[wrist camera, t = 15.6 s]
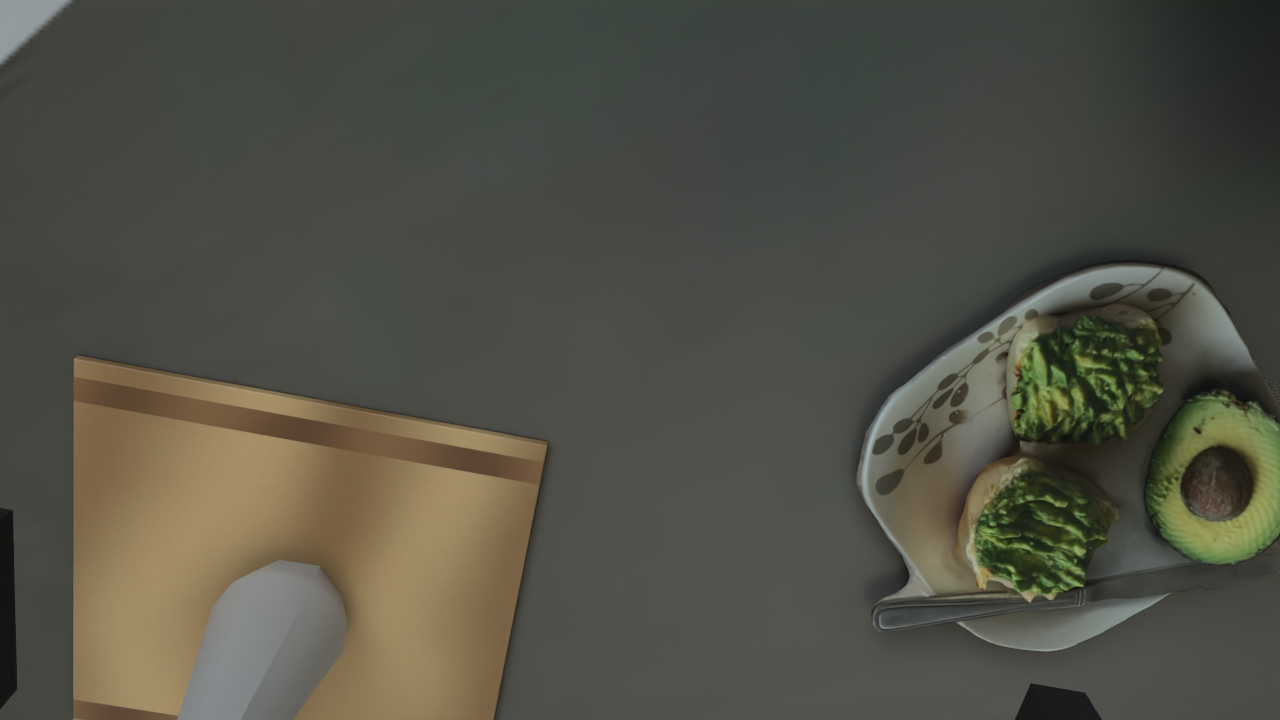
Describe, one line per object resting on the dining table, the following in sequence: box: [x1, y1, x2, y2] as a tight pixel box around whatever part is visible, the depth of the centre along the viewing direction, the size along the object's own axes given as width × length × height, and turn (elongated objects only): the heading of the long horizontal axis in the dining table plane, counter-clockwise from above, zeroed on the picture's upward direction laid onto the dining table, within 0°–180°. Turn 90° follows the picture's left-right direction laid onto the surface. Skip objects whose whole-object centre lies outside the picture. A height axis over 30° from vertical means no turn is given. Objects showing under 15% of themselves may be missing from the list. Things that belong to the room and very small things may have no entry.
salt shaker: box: [177, 560, 347, 720], centre depth 40 cm, size 6×6×13 cm
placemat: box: [73, 356, 548, 720], centre depth 46 cm, size 20×20×1 cm
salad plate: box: [856, 260, 1280, 651], centre depth 42 cm, size 19×18×5 cm
